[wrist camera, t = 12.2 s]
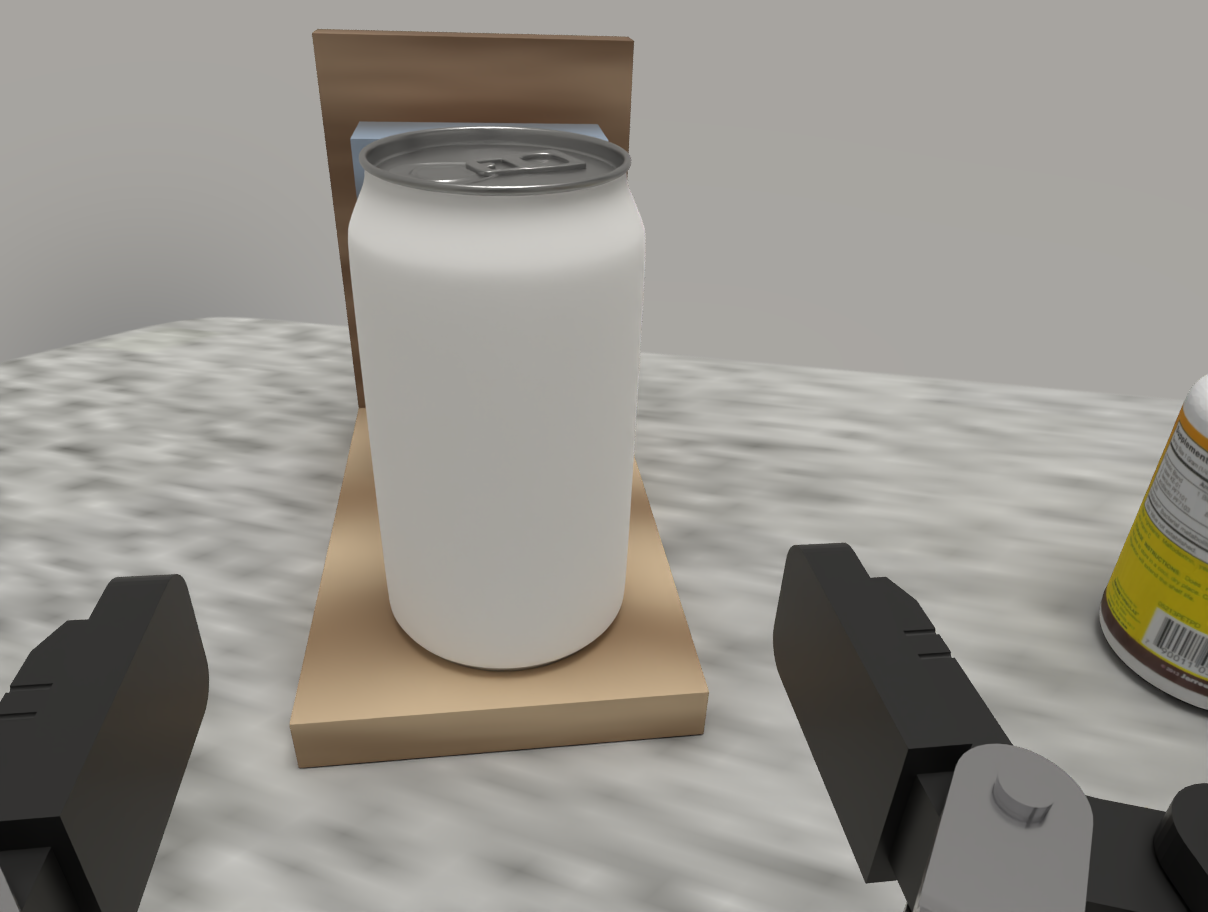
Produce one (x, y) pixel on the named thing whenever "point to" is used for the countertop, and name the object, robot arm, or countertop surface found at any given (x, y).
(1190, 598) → the supplement bottle
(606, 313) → the can
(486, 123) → the wooden bookend
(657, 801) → the countertop surface
